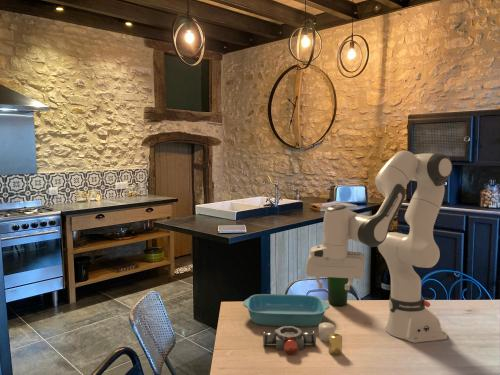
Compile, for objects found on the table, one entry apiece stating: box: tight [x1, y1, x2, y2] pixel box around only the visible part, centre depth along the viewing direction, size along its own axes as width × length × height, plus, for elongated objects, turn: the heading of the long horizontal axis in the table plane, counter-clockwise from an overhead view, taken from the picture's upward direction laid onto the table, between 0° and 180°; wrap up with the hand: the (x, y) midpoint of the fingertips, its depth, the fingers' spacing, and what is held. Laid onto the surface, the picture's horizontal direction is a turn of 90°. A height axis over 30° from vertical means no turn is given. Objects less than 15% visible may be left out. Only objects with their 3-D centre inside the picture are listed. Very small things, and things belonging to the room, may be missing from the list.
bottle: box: [326, 277, 349, 307], centre depth 188 cm, size 11×11×28 cm
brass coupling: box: [328, 333, 343, 357], centre depth 143 cm, size 5×5×6 cm
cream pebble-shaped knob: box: [318, 322, 336, 343], centre depth 154 cm, size 6×6×5 cm
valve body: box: [262, 326, 317, 356], centre depth 147 cm, size 19×12×5 cm, turn 90°
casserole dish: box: [242, 293, 330, 328], centre depth 173 cm, size 37×22×7 cm, turn 87°
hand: (333, 289), depth 143 cm, fingers open, 8 cm apart
